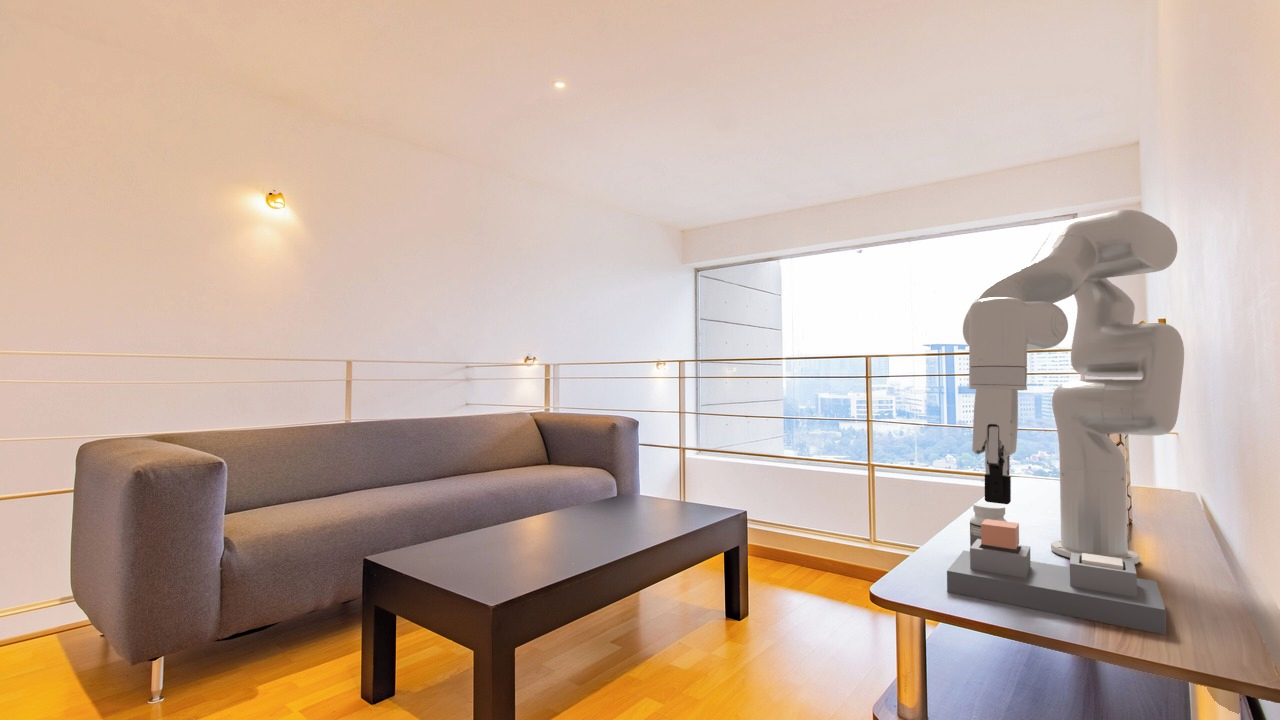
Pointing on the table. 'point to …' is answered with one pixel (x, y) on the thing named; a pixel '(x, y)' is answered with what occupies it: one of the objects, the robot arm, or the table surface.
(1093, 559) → the pale key
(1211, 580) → the table surface
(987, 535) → the terracotta key
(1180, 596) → the table surface
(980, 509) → the pill bottle
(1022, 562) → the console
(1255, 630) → the table surface
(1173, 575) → the table surface
